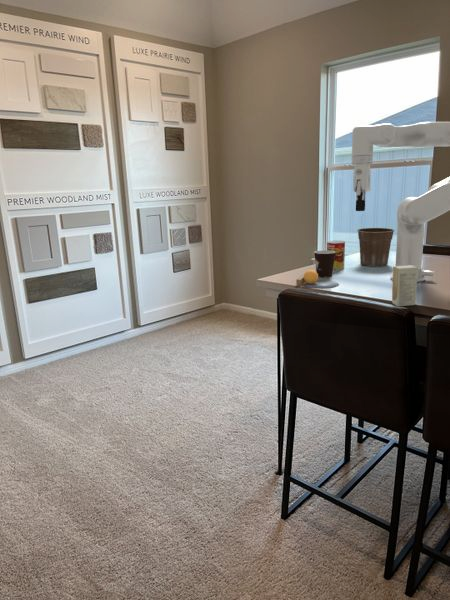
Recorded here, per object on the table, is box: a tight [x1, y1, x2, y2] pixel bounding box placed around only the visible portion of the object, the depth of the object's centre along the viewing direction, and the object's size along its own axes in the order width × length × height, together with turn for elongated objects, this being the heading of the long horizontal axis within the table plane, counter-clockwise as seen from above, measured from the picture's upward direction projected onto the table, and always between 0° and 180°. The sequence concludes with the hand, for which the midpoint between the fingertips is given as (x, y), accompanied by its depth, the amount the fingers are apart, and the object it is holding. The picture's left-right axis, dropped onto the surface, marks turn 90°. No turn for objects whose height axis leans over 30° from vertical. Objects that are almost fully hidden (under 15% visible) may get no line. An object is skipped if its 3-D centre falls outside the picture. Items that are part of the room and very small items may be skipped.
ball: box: [303, 269, 319, 284], centre depth 175 cm, size 6×6×6 cm
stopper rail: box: [295, 274, 306, 287], centre depth 177 cm, size 2×10×2 cm, turn 154°
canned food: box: [326, 240, 346, 270], centre depth 203 cm, size 8×8×12 cm
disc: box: [304, 279, 340, 289], centre depth 174 cm, size 13×13×1 cm
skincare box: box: [391, 265, 418, 307], centre depth 142 cm, size 6×4×12 cm
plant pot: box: [356, 227, 395, 268], centre depth 207 cm, size 16×16×16 cm
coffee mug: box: [313, 250, 335, 278], centre depth 190 cm, size 12×9×10 cm
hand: (360, 210), depth 173 cm, fingers closed
